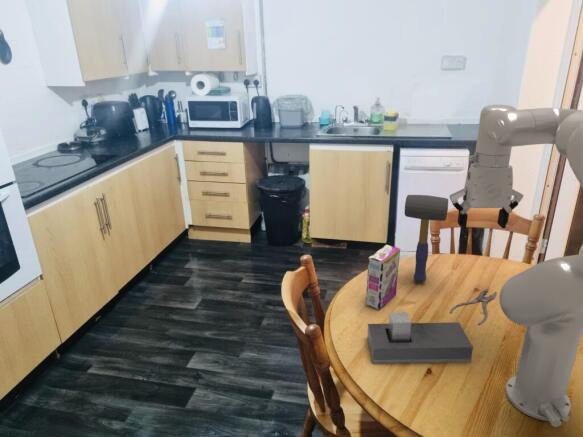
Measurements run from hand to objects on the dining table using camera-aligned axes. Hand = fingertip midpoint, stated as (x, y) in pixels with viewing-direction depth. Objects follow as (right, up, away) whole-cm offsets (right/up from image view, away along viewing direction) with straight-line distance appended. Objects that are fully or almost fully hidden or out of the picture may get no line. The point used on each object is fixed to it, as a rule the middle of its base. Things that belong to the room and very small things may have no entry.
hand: (481, 226), depth 108 cm
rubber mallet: (-6, -19, +34) cm, 39 cm away
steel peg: (-20, -31, +4) cm, 37 cm away
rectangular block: (-15, -32, +4) cm, 35 cm away
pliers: (+7, -24, +22) cm, 33 cm away
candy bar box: (-20, -23, +25) cm, 40 cm away
